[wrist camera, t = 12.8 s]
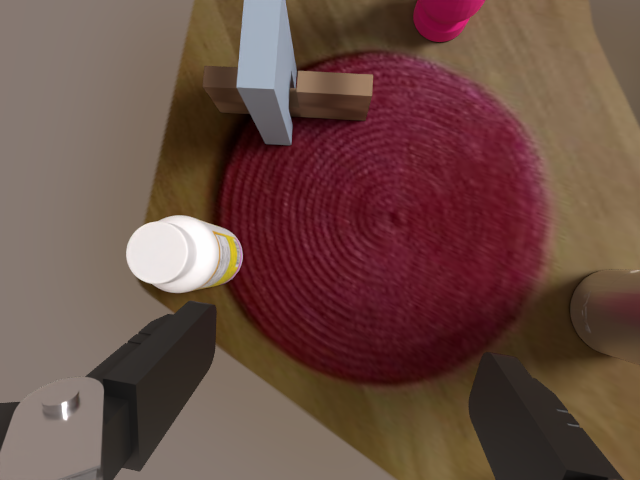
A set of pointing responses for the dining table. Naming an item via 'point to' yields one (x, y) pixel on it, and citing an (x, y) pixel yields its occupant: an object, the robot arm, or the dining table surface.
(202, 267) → the supplement bottle
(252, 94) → the pale blue notched block
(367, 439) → the dining table surface
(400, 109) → the dining table surface
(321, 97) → the wooden notched block
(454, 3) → the pepper mill
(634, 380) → the dining table surface
